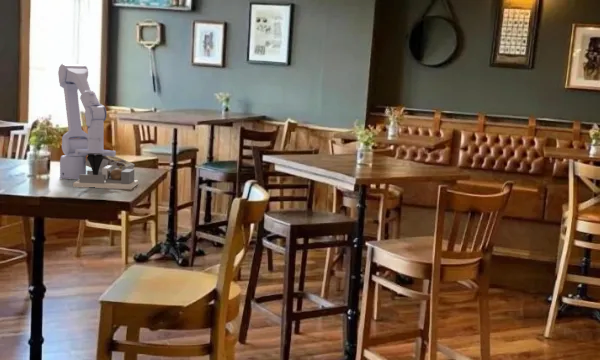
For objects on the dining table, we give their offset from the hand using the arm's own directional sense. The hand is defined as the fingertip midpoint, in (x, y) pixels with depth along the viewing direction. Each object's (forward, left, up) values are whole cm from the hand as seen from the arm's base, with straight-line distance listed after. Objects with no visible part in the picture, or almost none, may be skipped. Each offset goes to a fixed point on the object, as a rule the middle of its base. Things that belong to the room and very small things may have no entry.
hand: (95, 174), depth 282 cm
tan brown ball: (+8, 0, 0) cm, 8 cm away
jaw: (+5, 0, -1) cm, 5 cm away
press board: (+4, 0, -4) cm, 6 cm away
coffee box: (+9, +14, -1) cm, 17 cm away
